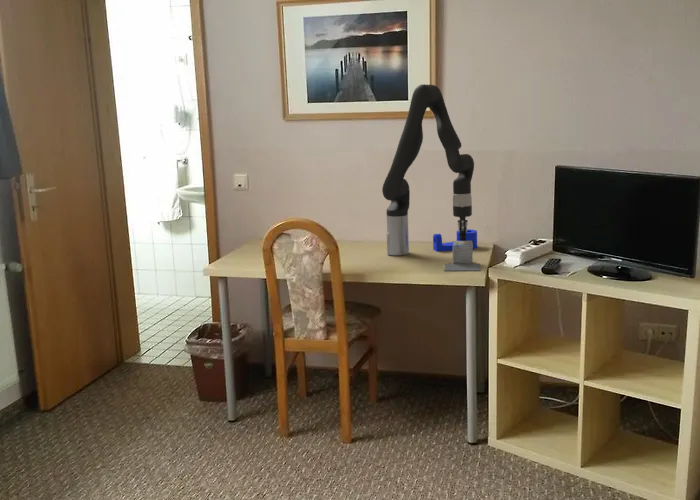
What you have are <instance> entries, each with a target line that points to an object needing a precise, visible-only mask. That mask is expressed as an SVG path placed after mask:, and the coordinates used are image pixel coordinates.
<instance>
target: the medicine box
mask: <svg viewBox="0 0 700 500" xmlns="http://www.w3.org/2000/svg"><path fill="white" fill-rule="evenodd" d="M452 242H453V251H452V264H474V263H473V261H474V259H473V251H474V249H473V244H472V241H457V240H452Z"/></svg>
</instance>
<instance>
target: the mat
mask: <svg viewBox="0 0 700 500" xmlns="http://www.w3.org/2000/svg"><path fill="white" fill-rule="evenodd" d="M481 268H482V267H481V263H472V264H453V263H445V264H444V268H443V271H444V272H481Z"/></svg>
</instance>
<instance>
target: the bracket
mask: <svg viewBox="0 0 700 500" xmlns="http://www.w3.org/2000/svg"><path fill="white" fill-rule="evenodd" d="M456 241H460V232H459V229H458V230H456ZM466 241H472V244H473V250H475V249H478V230H476V229H471V228H470V229H468V228H467V232H466ZM432 243H433V244H432V246H433V247H432V249H433V251H434V252H449V251H450V252H451V251H452V252H453V241H452V242H451V241H450V242H443V237H442V234H441V233H434V234H433V235H432Z"/></svg>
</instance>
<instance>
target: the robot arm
mask: <svg viewBox="0 0 700 500" xmlns="http://www.w3.org/2000/svg"><path fill="white" fill-rule="evenodd" d="M427 108H429V109H430V111H431V113H432V114H433V116H434V118H435V122H436V131H437V132H436V133H437V136H438V138H439V140H440V143H441V145H442V148H443V149H444V152H445V157H446V161H447V165H448V167H449V169H450V170H451V171H452V172H453V173H454V174H458V176H457V177H456V178H455V179H454V180H453V183H452V187H453V188H452V191H453V194H452V215H453V216H454V217H455V218H456V217H457V218H459V219H458V220H457V227H458V230H459V232H460V241H466V232H467V229H468V224H469V223H468V219H467V217H468V218H469V217H471V216H472V215H473V207H472V206H473V205H472V203H473V202H472V183H471V182H472V179H473V174H474V171H475V161H474V158H473V157H472V155H470V154H468V153H464V154H463V153H462V154H460V149H461V148H462V142H461V140H460V137H459V136H458V134H457V132H456V130H455V127H454V126H453V123H452V121H451V119H450V116H449V112H448V109H447V106H446V103H445V99H444V97H443V94H442V91H441V89H440V88H439V87H438V86H437V85H434V84H420V85H417V86H416V87H415V88H414V91H413V92H412V95H411V100H410V104H409V109H408V113H407V116H406V117H407V118H406V120H405V122H404V127H403V131H402V132H401V135H400V139H399V141H398V145H397V147H396V151H395V155H394V158H393V160H392V163H391V166H390V169H389V171H388V173H387V176H386V177H385V180H384V182H383V185H382V189H381V191H382V196H383V197H384V199H385V200H387V201H390V204H389V205H388V207H387V208H386V229H387V230H386V232H387V233H386V250H387V251H386V253H387V254H386V255H388V256H389V255H390V256H405V255H408V254H410V247H409V246H410V245H409V243H410V242H409V216H408V215H409V210H410V193H411V192H410V185H409V183H408V180H407V179H405V178H404V177H405V175H406V173H407V172H408V170H409V168H410V167H411V166H412V164H413V162H414V161H415V160H416V158H417V157H418V155H419V153H420V150H421V147H422V144H423V140H424V131H423V119H424V117H425V113H426V111H427Z"/></svg>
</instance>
